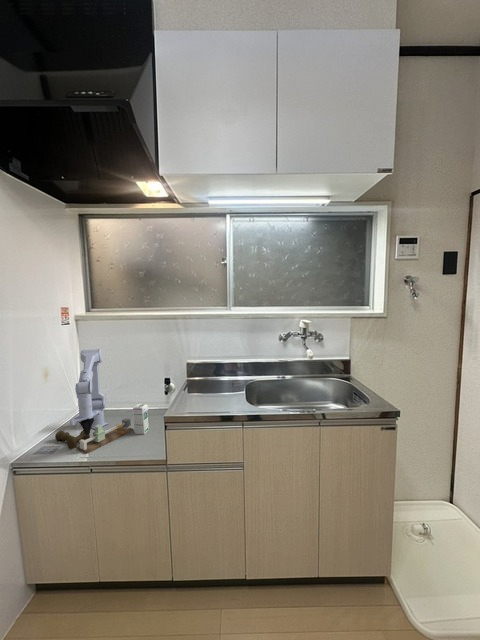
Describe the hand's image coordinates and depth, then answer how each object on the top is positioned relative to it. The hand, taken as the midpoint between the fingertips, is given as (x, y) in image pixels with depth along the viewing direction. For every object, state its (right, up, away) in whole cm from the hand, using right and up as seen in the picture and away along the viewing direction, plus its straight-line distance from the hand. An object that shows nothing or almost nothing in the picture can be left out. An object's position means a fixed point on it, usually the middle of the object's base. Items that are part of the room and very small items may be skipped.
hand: (87, 433), depth 150 cm
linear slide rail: (+6, -5, +10) cm, 12 cm away
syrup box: (+21, -5, +18) cm, 28 cm away
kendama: (-10, -7, +6) cm, 14 cm away
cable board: (+5, -6, +9) cm, 12 cm away
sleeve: (+3, -5, +6) cm, 8 cm away
